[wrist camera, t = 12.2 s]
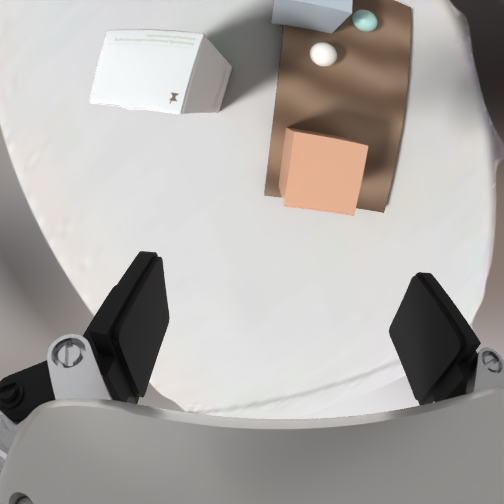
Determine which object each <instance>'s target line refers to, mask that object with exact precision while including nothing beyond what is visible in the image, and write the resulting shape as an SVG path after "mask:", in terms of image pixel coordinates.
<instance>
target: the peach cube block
mask: <svg viewBox="0 0 504 504" xmlns="http://www.w3.org/2000/svg"><path fill="white" fill-rule="evenodd" d="M367 151H368V145H365V144H362V143H359V142H356V141H353V140H350V139H347V138H343V137H338V136H333V135H328V134H323V133H317V132H311V131H305V130H299V129H292V128H286V131H285V139H284V147H283V155H282V162H281V170H280V178H279V189H280V193H281V197H282V201H283V205H284V206H287V207H295V208H303V209H311V210H318V211H325V212H333V213H340V214H346V215H353V216H354V213H355V209H356V205H357V200H358V196H359V191H360V187H361V182H362V177H363V172H364V167H365V162H366V156H367Z"/></svg>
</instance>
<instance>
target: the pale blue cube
mask: <svg viewBox="0 0 504 504" xmlns="http://www.w3.org/2000/svg"><path fill="white" fill-rule="evenodd" d="M351 14H352V0H274V5H273V14H272V22H271V24H280V25H287V26H294V27H300V28H306V29H312V30H317V31H322V32H326V33H331V34H332V33H333V32H334V31H335V30H336V29H337V28H338V27H339V26H340V25H341V24H342V23H343V22H344V21H345V20H346V19H347V18H348V17H349V16H350V15H351Z"/></svg>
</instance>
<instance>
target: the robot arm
mask: <svg viewBox="0 0 504 504" xmlns="http://www.w3.org/2000/svg"><path fill="white" fill-rule="evenodd" d="M168 324H169V310H168V303H167V295H166V287H165V279H164V270H163V261H162V258H161V257H158V255H157V253H156V252H144V251H140V252H139V254H138V255H137V256H136V258H135V259H134V261H133V262H132V264H131V265H130V266H129V268H128V269H127V271H126V272H125V274H124V275H123V277H122V278H121V280H120V281H119V283H118V284H117V285H116V286H114V287H113V288H112V290H111V291H110V293H109V295H108V296H107V298H106V299H105V301H104V302H103V304H102V305H101V307H100V309H99V310H98V312H97V313H96V315H95V317H94V318H93V320H92V321H91V323H90V325H89V326H88V328H87V330H86V331H85V333H84V335H83V336H80V335H77V334H69V335H64V336H62V337H60V338H58V339H57V340H55V341H54V342H53V343H52V344H51V346H50V347H49V350H48V352H47V360H46V361H44V362H42V363H39V364H37V365H34V366H32V367H29V368H27V369H24V370H22V371H19V372H17V373H15V374H12V375H9V376H7V377H5V378H3V379H2V380H1V381H0V504H504V361H503V359H502V358H501V356H500V355H499V354H498V353H497V352H496V351H494V350H493V349H490V348H482V349H481V350H480V351H479V353H478V354H477V352H476V349H477V348H478V346H479V345H480V344H481V343H480V341H479V339H478V338H477V336H476V335H475V333H474V332H473V330H472V329H471V327H470V326H469V324H468V323H467V321H466V320H465V318H464V317H463V315H462V314H461V312H460V311H459V310H458V308H457V307H456V305H455V304H454V303H453V301H452V300H451V299H450V297H449V296H448V294H447V293H446V292H445V290H444V289H443V288H442V287H441V285H440V284H439V283H438V281H437V280H436V279H435V278H434V276H433V275H432V274H431V273H421V272H419V273H417V274H416V275H415V276H413V277H412V279H411V281H410V284H409V286H408V289H407V291H406V293H405V296H404V298H403V300H402V302H401V305H400V307H399V309H398V311H397V313H396V315H395V317H394V319H393V322H392V324H391V326H390V329H389V334H390V337H391V339H392V342H393V344H394V346H395V349H396V351H397V353H398V356H399V358H400V361H401V363H402V366H403V368H404V371H405V373H406V376H407V378H408V381H409V383H410V386H411V389H412V391H413V394H414V397H415V399H416V400H418V401H419V404H420V406H416V407H411V408H406V409H400V410H395V411H388V412H383V413H375V414H367V415H359V416H349V417H337V418H323V419H248V418H232V417H221V416H211V415H202V414H194V413H186V412H179V411H172V410H165V409H160V408H154V407H149V406H143V405H137V403H138V400H139V397H144V395H145V392H146V390H147V386H148V383H149V380H150V377H151V374H152V371H153V368H154V365H155V362H156V359H157V356H158V353H159V350H160V347H161V344H162V341H163V338H164V335H165V332H166V330H167V327H168ZM434 401H435V402H434ZM127 402H128V403H127ZM433 402H434V403H433ZM131 403H132V404H131Z"/></svg>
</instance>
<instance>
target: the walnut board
mask: <svg viewBox="0 0 504 504" xmlns="http://www.w3.org/2000/svg"><path fill="white" fill-rule="evenodd" d="M358 10H368V11H370V12H371V13H373V14H374V15H375V17H376V18H377V27H376V28H375V29H374V30H372V31H369V32H365V31H361V30H359V29H358V28H357V27H356V26H355V25H354V24H353V21H352V16H353V14H354V13H355V12H356V11H358ZM410 40H411V8H410V7H408V6H406V5H404V4H401V3H399V2H396V1H394V0H352V14H351V15H350V16H349V17H348V18H347V19H346V20H345V21H344V22H343V23H342V24H341V25H340V26H339V27H338V28H337V29H336V30H335V31H334V32H333V33H332V34H331V33H326V32H322V31H317V30H312V29H306V28H300V27H294V26H287V25H284V29H283V38H282V47H281V55H280V64H279V73H278V82H277V90H276V99H275V108H274V116H273V125H272V133H271V142H270V150H269V159H268V167H267V175H266V184H265V192H264V193H265V196H273V197H281V193H280V189H279V178H280V170H281V162H282V155H283V147H284V139H285V131H286V128H292V129H299V130H305V131H311V132H317V133H323V134H328V135H333V136H338V137H343V138H347V139H350V140H353V141H356V142H359V143H362V144H365V145H368V151H367V156H366V162H365V167H364V172H363V177H362V182H361V187H360V191H359V196H358V200H357V205H356V208H359V209H365V210H371V211H377V212H383V213H384V211H385V207H386V203H387V199H388V195H389V191H390V186H391V182H392V178H393V173H394V168H395V164H396V159H397V153H398V148H399V143H400V137H401V131H402V125H403V118H404V111H405V103H406V95H407V85H408V74H409V61H410ZM321 42H324V43H328V44H330V45H332V46H333V47H334V48H335V50H336V52H337V59H336V61H335V63H334V64H332V65H330V66H327V67H323V66H319V65H317V64H315V63H314V62H313V61H312V59H311V57H310V50H311V48H312V46H314V45H315V44H317V43H321Z"/></svg>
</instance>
